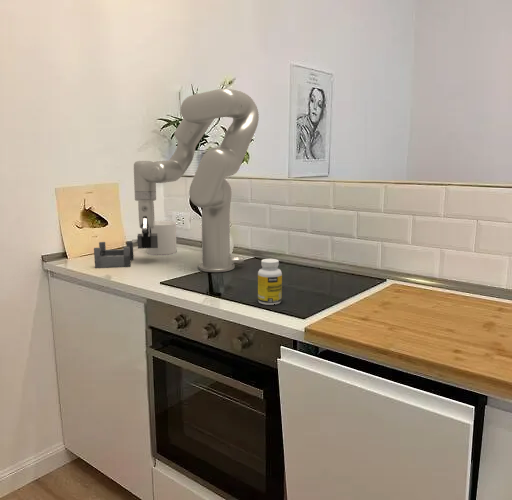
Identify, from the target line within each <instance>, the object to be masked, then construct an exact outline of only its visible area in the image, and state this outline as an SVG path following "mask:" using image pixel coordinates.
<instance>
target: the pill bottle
mask: <svg viewBox="0 0 512 500" xmlns="http://www.w3.org/2000/svg"><path fill="white" fill-rule="evenodd" d="M279 265H280V261H279V259H276V258H265V259H261V267H262V268H259V270H258V271H257V301H258V303H259V304H262V305H266V306H274V304H275V305H279V304H280V303H281V302H282V298H283V297H282V296H283V295H282V293H283V291H282V289H283V284H282V283H283V273H282V269H280V268H279Z"/></svg>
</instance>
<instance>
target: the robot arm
mask: <svg viewBox="0 0 512 500" xmlns="http://www.w3.org/2000/svg"><path fill="white" fill-rule="evenodd" d="M180 115H181V116H182V120H181V122H180V123H179V124H178V126H177V128H176V129H175V131H174V134H173V135H174V138H175V140H177V147H176V149H175V151H174V152H173V154H172V155H171V157H170V158H169V159H168V160H159V161H158V160H156V161H151V160H137V161H135V162H134V163H133V181H134V182H133V184H134V185H133V186H134V200H135V201H136V202H137V204H138V221H139V222H138V226H139V228H140V229H141V234H142V237H141V239H142V248H141V249H147V248H150V247H151V236H150V233H151V227H152V228H154V225H155V221H156V220H155V203H154V201H157V184H165V183H172V182H176V181H178V180H179V179H181V178H182V177H183V175H184V174H185V173H186V172H187V170H188V168H189V166H190V165H191V164H192V163H193V160H194V156H195V154H196V153H195V152H196V148H197V145H198V144H199V142H200V141H201V139H202V138H203V136H205V133H206V132H207V131H208V129H209V127H210V126H211V125H212V124H213V122H214V120H216V119H221V118H232V122H231V124H230V125H229V127H228V128H227V130H226V132H225V134H224V137H223V140H221V141H222V142H221V143H220V145H219V146H215V147H212V148H209V149H208V150H207V151H206V152H205V153H204V154H203V155H202V157H201V159H200V162H199V164H198V166H197V169H196V172H195V174H194V176H193V179H192V181H191V183H190V186H189V191H188V192H189V199H190V201H191V203H192V204H193V205H194V206H195V207H198V208H202V212H201V246H202V247H201V249H202V252H201V253H202V255H201V256H202V262H201V263H199V264H198V268H197V269H198V270H199V271H202V272H204V273H205V272H206V273H222V272H224V273H225V272H229V271H232V270H234V269H235V268H236V267H235V266H236V265H235V264H244V262H245V261H244V257H242V256H241V257H239V256H232V254H231V241H230V240H231V239H230V238H231V237H230V236H231V235H230V234H231V233H230V231H231V230H230V225H231V224H230V223H231V222H230V217H231V215H230V213H231V210H230V209H231V202H232V188H231V185H230V183H229V182H228V181H227V179H225V178H226V177H231V176H234V175H235V174H237V173H238V172H239V170H240V167H241V165H242V163H243V161H244V159H245V156H246V154H247V152H248V149H249V146H250V144H251V141H252V140H253V137H254V135H255V133H256V131H257V127H258V124H259V119H260V118H259V117H260V116H259V115H260V114H259V109H258V106H257V103H256V102H255V100H254V99H253V98H251V96H250V95H249V94H247V93H245V92H243V91H241V90H236V89H232V88H225V87H224V88H218V89H214V90H210V91H209V90H208V91H204V92H200V93H195V94H191V95H189V96H187V97H186V98H185V99H184V100H183V101H182V103H181V105H180Z"/></svg>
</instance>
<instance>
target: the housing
mask: <svg viewBox="0 0 512 500" xmlns="http://www.w3.org/2000/svg"><path fill="white" fill-rule="evenodd" d="M122 247H123V248H121V249H119V248H118V249H106V241H99V242H98V247H94V248H93V256H94V268H95V269H109V268H115V269H116V268H130V267H131V266H132V265H131V261H134V259H135V258H134V243H132V240H127V241H126V246H122Z"/></svg>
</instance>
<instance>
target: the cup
mask: <svg viewBox="0 0 512 500" xmlns="http://www.w3.org/2000/svg"><path fill="white" fill-rule="evenodd" d="M176 225H177V224H176V221H174V220H173V221H172V220H155V225H154V228H152V227H151V233H157V236H158V248H146V252H147V254H148V255H150V256H152V255H153V256H169V255H173V254H176V253H177V226H176Z"/></svg>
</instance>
